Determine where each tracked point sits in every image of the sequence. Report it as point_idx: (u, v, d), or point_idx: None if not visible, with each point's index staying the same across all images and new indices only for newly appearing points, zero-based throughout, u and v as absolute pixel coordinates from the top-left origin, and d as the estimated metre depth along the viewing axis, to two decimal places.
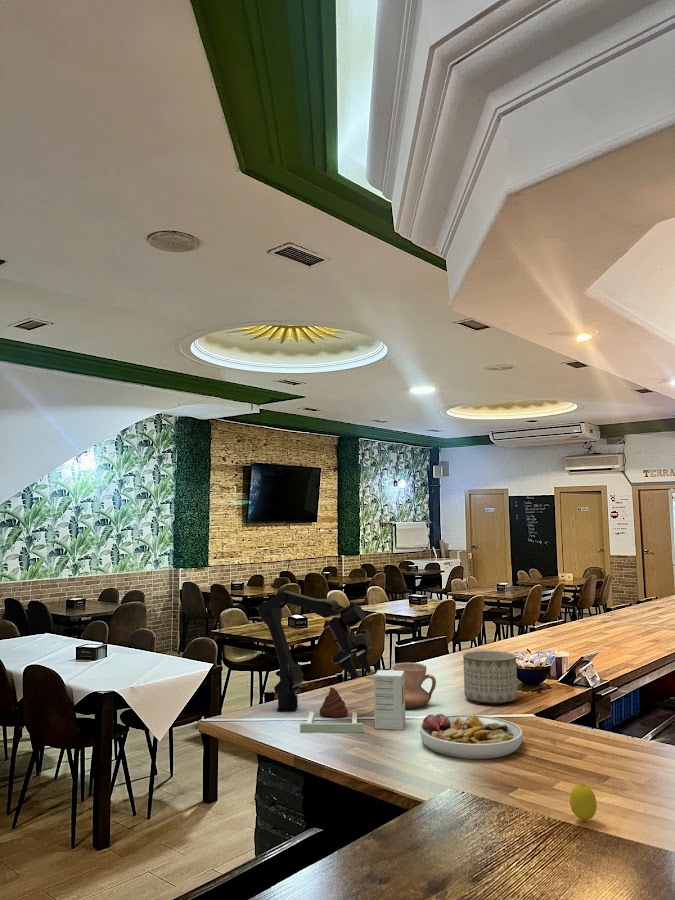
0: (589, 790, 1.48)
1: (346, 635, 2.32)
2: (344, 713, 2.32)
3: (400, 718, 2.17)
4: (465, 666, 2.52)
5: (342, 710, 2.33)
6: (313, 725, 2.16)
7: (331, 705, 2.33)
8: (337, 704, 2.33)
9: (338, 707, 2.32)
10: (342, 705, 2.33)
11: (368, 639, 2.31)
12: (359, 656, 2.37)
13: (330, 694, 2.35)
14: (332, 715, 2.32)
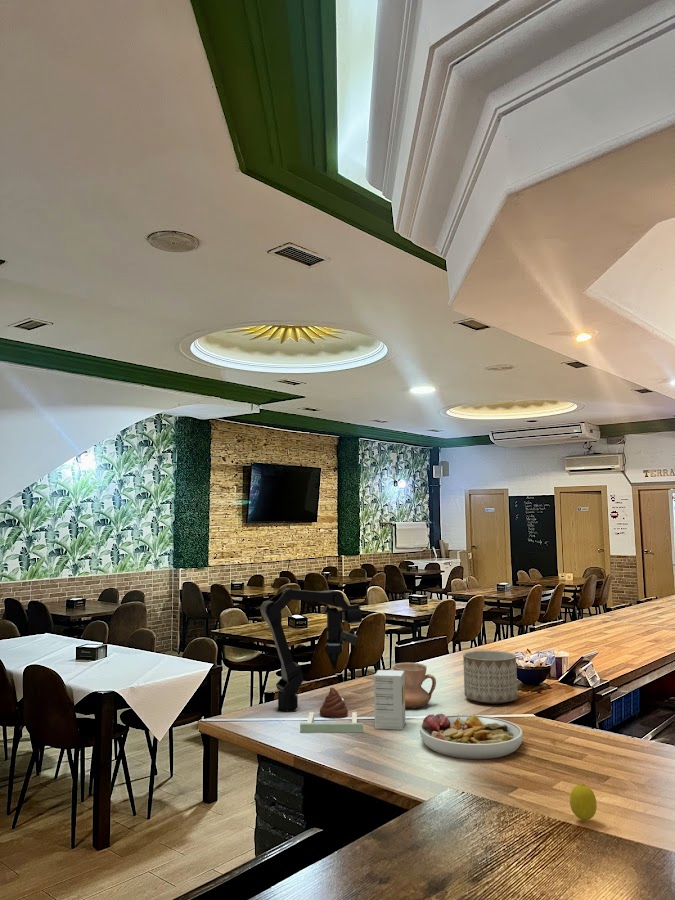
0: (589, 790, 1.48)
1: (341, 630, 2.51)
2: (344, 713, 2.32)
3: (400, 718, 2.17)
4: (465, 666, 2.52)
5: (342, 710, 2.32)
6: (313, 725, 2.16)
7: (331, 705, 2.33)
8: (337, 704, 2.33)
9: (338, 707, 2.32)
10: (342, 705, 2.33)
11: None
12: None
13: (330, 694, 2.35)
14: (332, 715, 2.31)
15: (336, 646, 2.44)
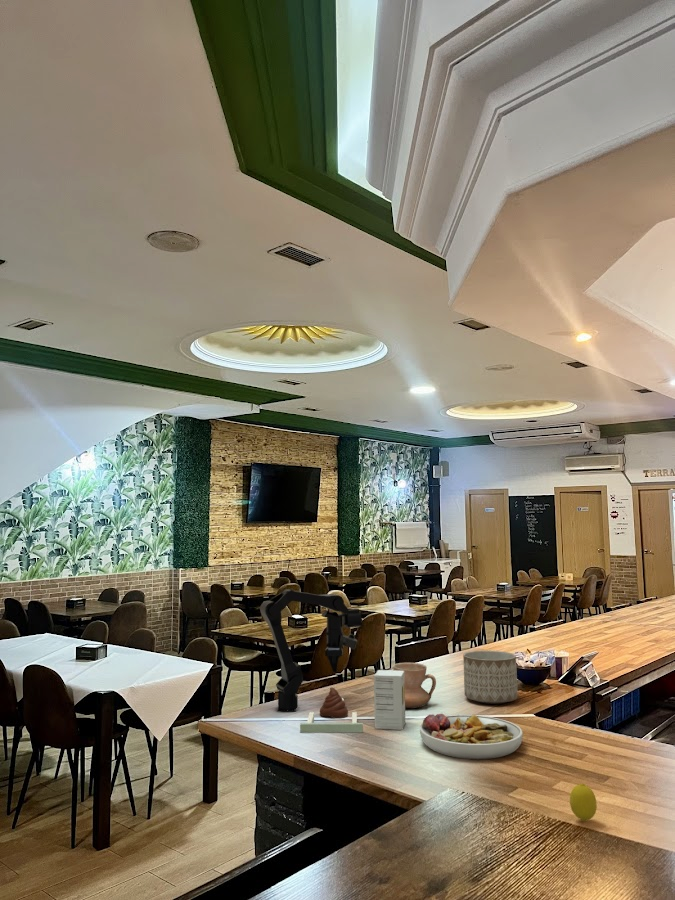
0: (589, 790, 1.48)
1: (341, 634, 2.51)
2: (344, 713, 2.32)
3: (400, 718, 2.17)
4: (465, 666, 2.52)
5: (342, 710, 2.32)
6: (313, 725, 2.16)
7: (331, 705, 2.32)
8: (337, 704, 2.33)
9: (338, 707, 2.32)
10: (342, 705, 2.33)
11: None
12: None
13: (330, 694, 2.35)
14: (332, 715, 2.31)
15: (336, 650, 2.44)
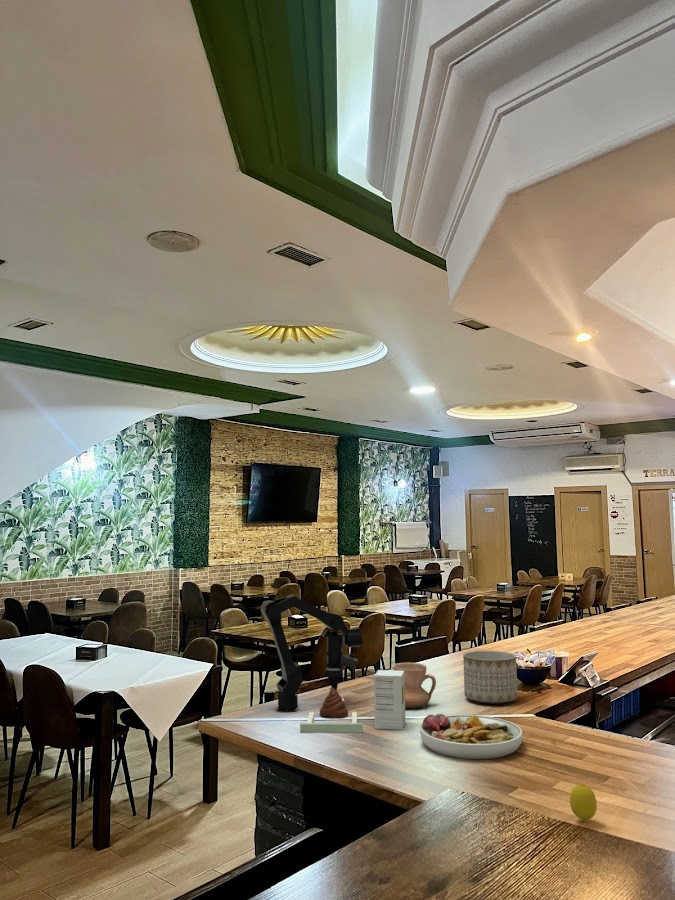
0: (589, 790, 1.48)
1: (341, 654, 2.49)
2: (344, 713, 2.32)
3: (400, 718, 2.17)
4: (465, 666, 2.52)
5: (342, 710, 2.32)
6: (313, 725, 2.16)
7: (331, 705, 2.32)
8: (337, 704, 2.32)
9: (338, 707, 2.32)
10: (342, 705, 2.33)
11: None
12: None
13: (330, 694, 2.35)
14: (332, 715, 2.31)
15: (336, 671, 2.42)
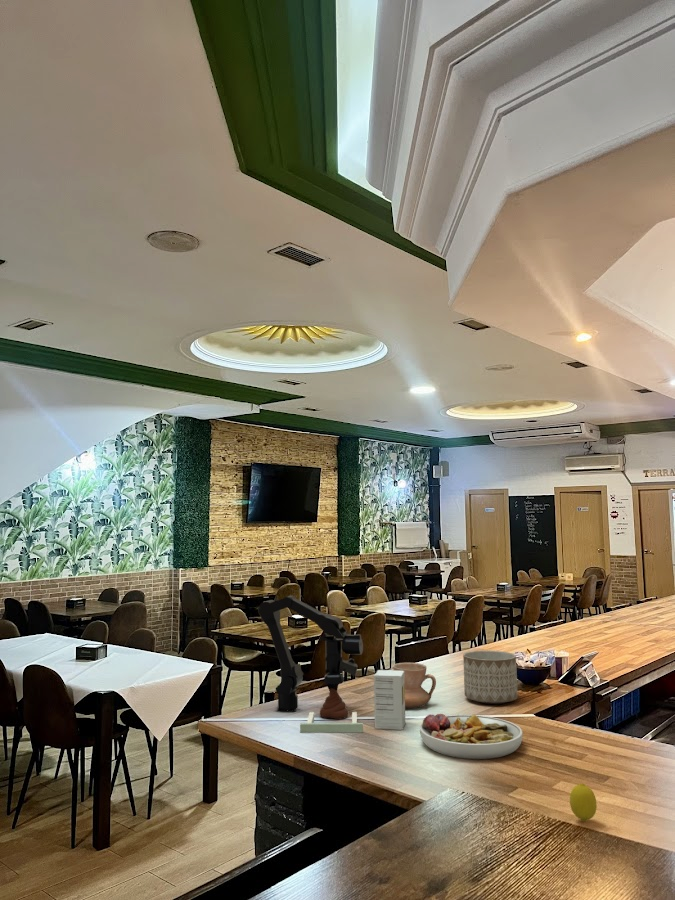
0: (589, 790, 1.48)
1: (340, 659, 2.38)
2: (344, 714, 2.30)
3: (400, 718, 2.17)
4: (465, 666, 2.52)
5: (342, 711, 2.31)
6: (313, 725, 2.16)
7: (331, 706, 2.31)
8: (337, 705, 2.31)
9: (338, 708, 2.30)
10: (342, 706, 2.31)
11: None
12: None
13: (330, 695, 2.33)
14: (332, 716, 2.30)
15: (336, 678, 2.31)
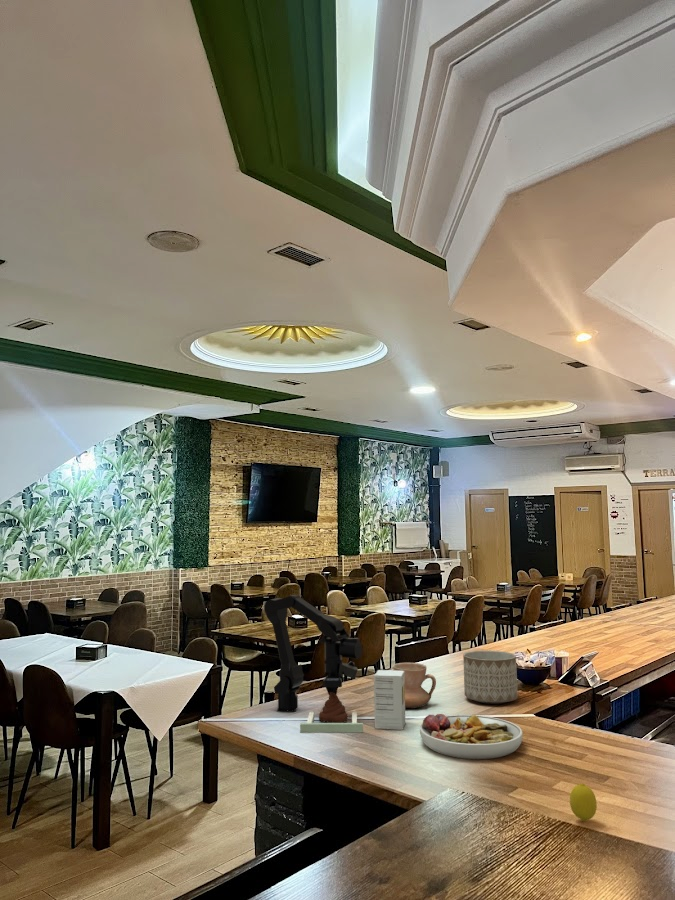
0: (589, 790, 1.48)
1: (340, 662, 2.33)
2: (344, 718, 2.26)
3: (400, 718, 2.17)
4: (465, 666, 2.52)
5: (342, 715, 2.26)
6: (313, 725, 2.16)
7: (331, 710, 2.26)
8: (337, 709, 2.26)
9: (338, 712, 2.25)
10: (342, 710, 2.26)
11: None
12: None
13: (330, 699, 2.28)
14: (332, 720, 2.25)
15: (335, 681, 2.26)
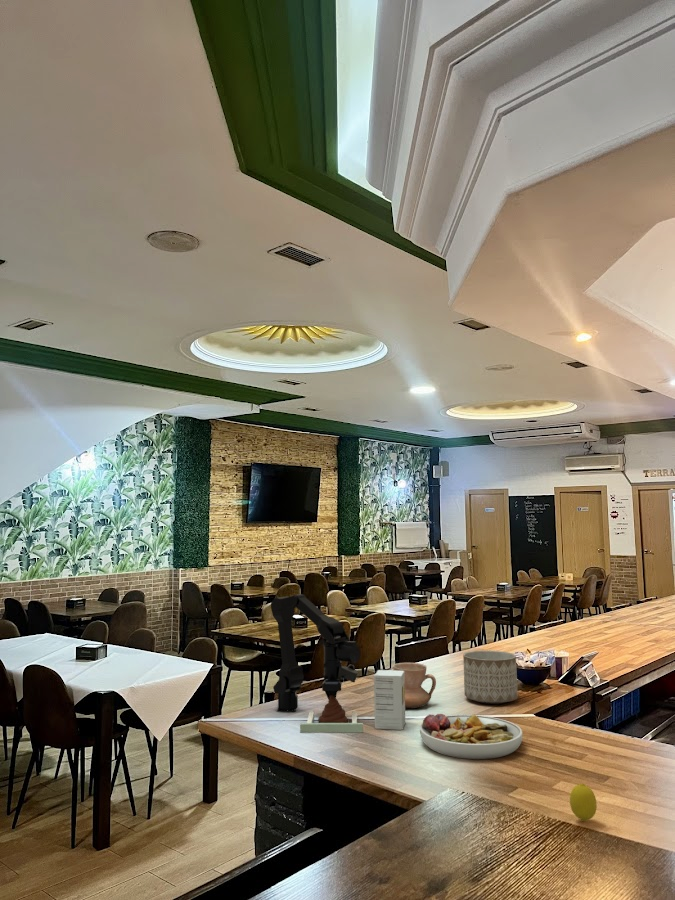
0: (589, 790, 1.48)
1: (339, 665, 2.28)
2: (345, 722, 2.21)
3: (400, 718, 2.17)
4: (465, 666, 2.52)
5: (343, 719, 2.21)
6: (313, 725, 2.16)
7: (331, 714, 2.21)
8: (338, 713, 2.21)
9: (339, 716, 2.21)
10: (343, 714, 2.22)
11: None
12: None
13: (330, 702, 2.23)
14: None
15: (334, 685, 2.21)
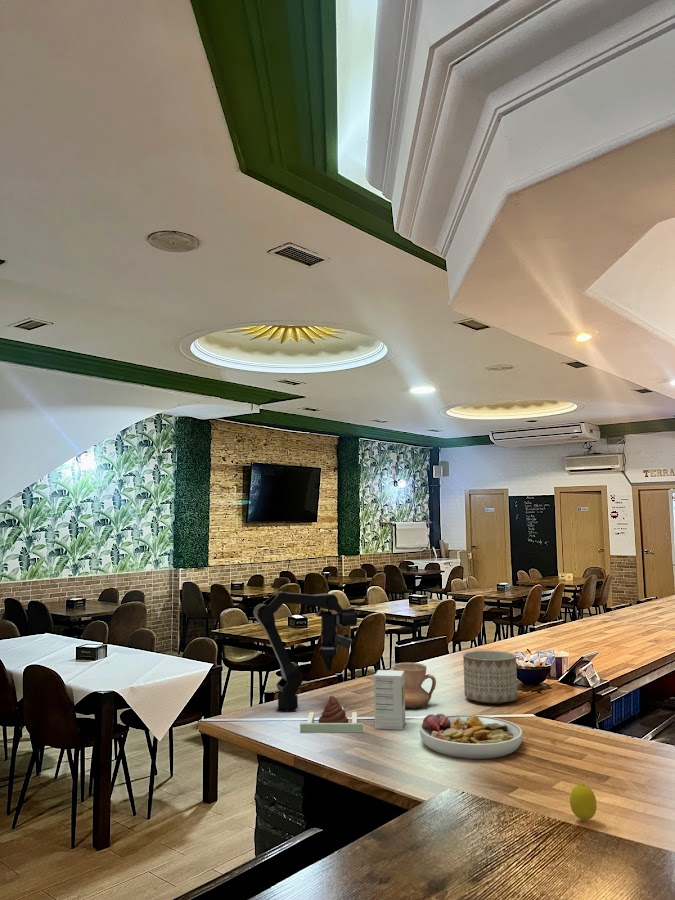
0: (589, 790, 1.48)
1: (335, 633, 2.49)
2: None
3: (400, 718, 2.17)
4: (465, 666, 2.52)
5: (343, 720, 2.21)
6: (313, 725, 2.16)
7: (331, 715, 2.21)
8: (338, 714, 2.21)
9: (339, 717, 2.20)
10: (343, 714, 2.22)
11: None
12: None
13: (330, 703, 2.23)
14: None
15: (330, 650, 2.42)
